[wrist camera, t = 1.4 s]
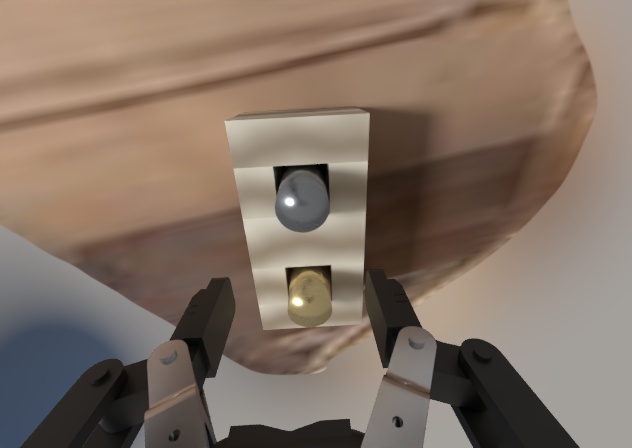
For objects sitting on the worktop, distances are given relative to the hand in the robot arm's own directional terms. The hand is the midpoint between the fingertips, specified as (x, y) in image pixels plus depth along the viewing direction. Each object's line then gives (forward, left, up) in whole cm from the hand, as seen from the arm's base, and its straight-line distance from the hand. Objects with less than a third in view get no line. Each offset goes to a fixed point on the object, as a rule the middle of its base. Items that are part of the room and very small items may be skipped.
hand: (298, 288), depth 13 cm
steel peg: (0, 0, -18) cm, 18 cm away
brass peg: (+11, 0, -18) cm, 21 cm away
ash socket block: (+6, 0, -22) cm, 22 cm away
